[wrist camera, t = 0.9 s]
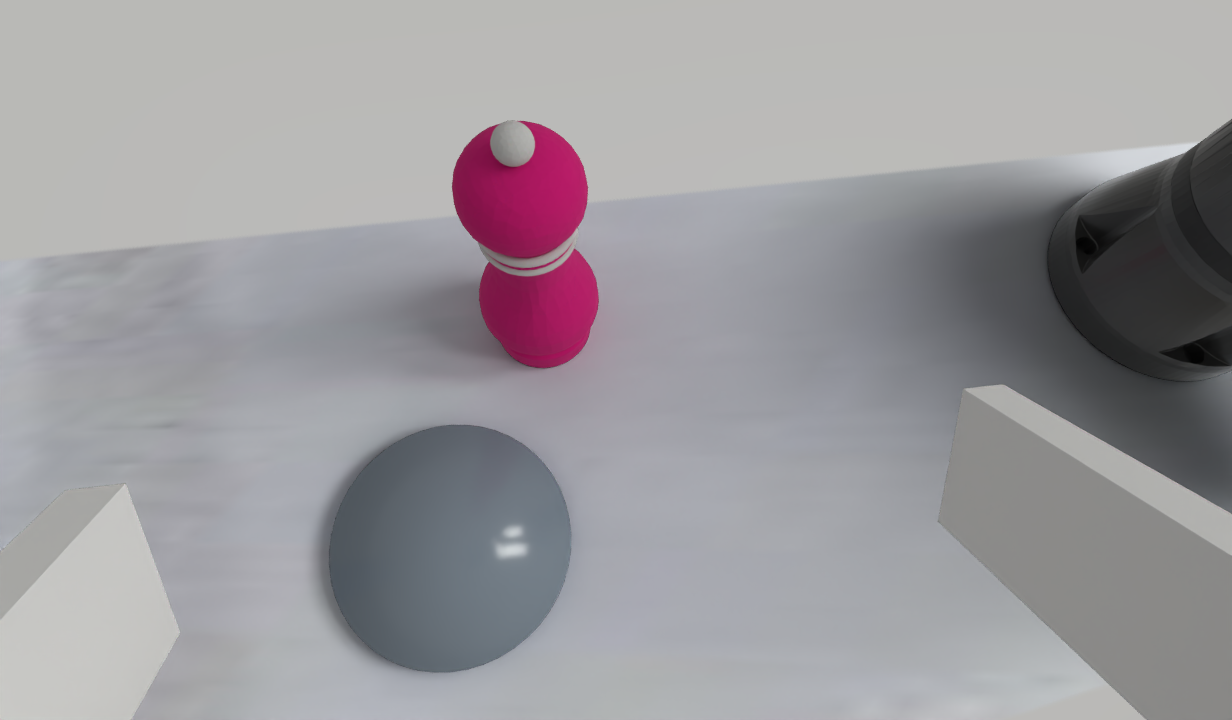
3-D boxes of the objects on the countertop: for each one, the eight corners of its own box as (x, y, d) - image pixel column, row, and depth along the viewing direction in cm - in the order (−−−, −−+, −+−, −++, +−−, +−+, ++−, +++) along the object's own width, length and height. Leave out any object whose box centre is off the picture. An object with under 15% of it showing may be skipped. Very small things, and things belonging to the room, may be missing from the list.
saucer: (495, 387, 43) (493, 383, 42) (616, 575, 39) (616, 574, 38) (295, 510, 40) (287, 508, 39) (406, 724, 36) (401, 728, 35)
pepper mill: (548, 397, 43) (515, 245, 24) (467, 330, 44) (376, 136, 25) (619, 319, 45) (640, 122, 26) (540, 257, 46) (505, 27, 27)
